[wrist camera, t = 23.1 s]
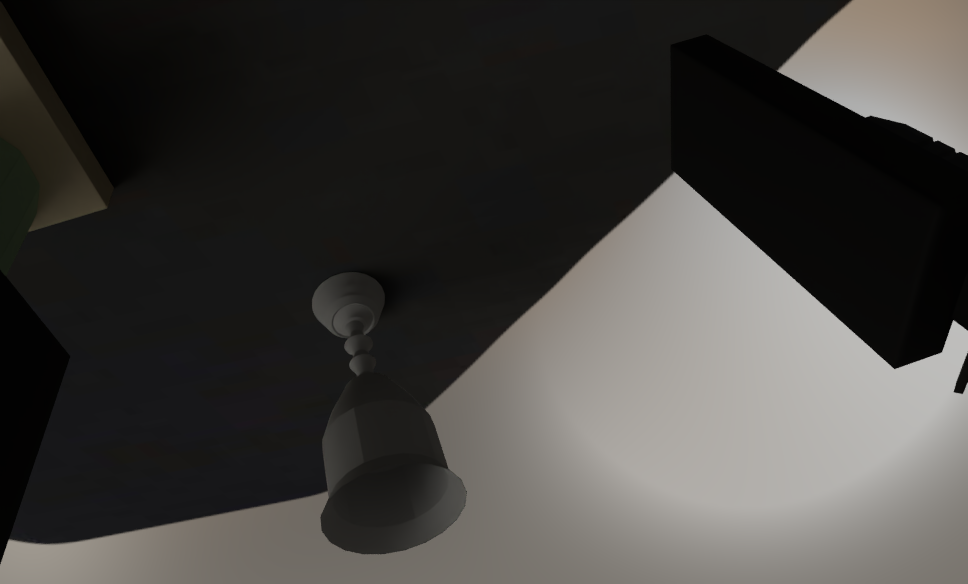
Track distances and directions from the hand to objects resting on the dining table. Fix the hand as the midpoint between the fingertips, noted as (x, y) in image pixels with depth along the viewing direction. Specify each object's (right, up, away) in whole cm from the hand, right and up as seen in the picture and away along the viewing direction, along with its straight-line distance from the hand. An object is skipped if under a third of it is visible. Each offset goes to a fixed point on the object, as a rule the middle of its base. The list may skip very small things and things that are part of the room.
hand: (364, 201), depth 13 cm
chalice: (-7, -2, +34) cm, 35 cm away
